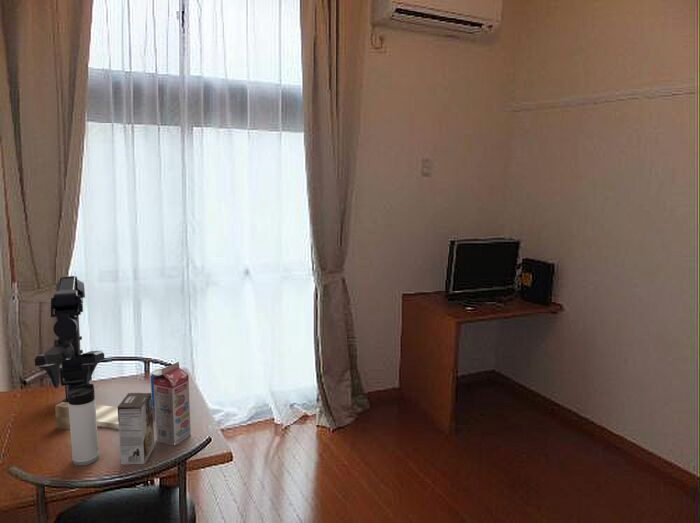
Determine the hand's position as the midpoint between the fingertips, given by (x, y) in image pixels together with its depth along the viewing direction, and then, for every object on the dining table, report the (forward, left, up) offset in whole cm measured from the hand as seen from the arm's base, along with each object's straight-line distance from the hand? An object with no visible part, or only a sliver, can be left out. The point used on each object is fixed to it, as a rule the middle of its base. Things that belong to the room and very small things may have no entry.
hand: (71, 387), depth 155 cm
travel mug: (+17, -15, -13) cm, 26 cm away
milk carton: (+33, +1, -13) cm, 35 cm away
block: (-2, +4, -12) cm, 13 cm away
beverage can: (+18, +19, -13) cm, 29 cm away
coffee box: (+29, -10, -13) cm, 33 cm away
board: (+5, +7, -12) cm, 15 cm away
